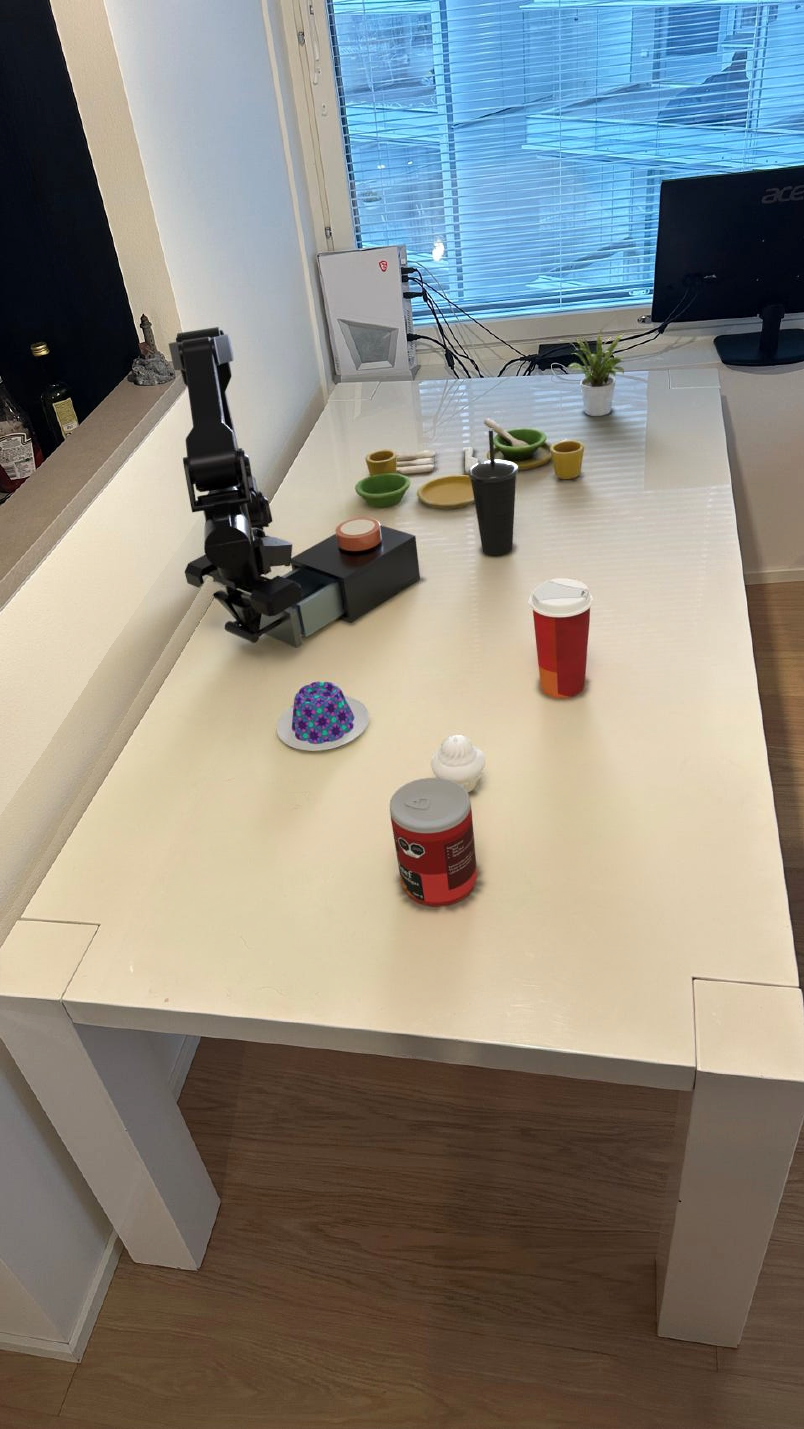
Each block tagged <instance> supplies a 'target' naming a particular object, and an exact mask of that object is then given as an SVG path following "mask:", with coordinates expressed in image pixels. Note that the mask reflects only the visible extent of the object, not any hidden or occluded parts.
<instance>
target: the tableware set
mask: <svg viewBox="0 0 804 1429" xmlns="http://www.w3.org/2000/svg"><path fill="white" fill-rule="evenodd" d="M483 424H484V426H486V427H487V428H488V429H493V433H496V435H495V436H493V439H494V457H495V459H499V460H504V461H509V462H512V463H514V464H516V465H517V467H518V471H523V470H530V469H534V468H537V467H540V466H542V465H544V464H546V463H548V462H549V461H550V460H551V461H552V466H553V471H554V475H555V477H556V478H558V479H563V480H570V479H575V478H577V477H579V476H580V474H581V472H582V467H583V466H582V464H583V457H584V451H585V445H584V443H583V442H581V441H578V440H571V439H569V438H564V439H562V441H559V442H557V443H553V444H552V443H550V442H548V441H547V434H546V433H545V432H543V431H542V430H539V429H536V428H528V427H527V428H525V427H524V428H523V427H521V428H513V429H508V430H505V429H504V428H503V427H502V426H501V425H499V423H497V422H495V421H494V420H493V419H492V418H489V417H488V418H487V417H486V418H485V419H484V421H483ZM473 455H474V447H472V446H468V447H465V448H464V463H465V464H464V473H465V474H454V475H453V474H452V475H444V476H442V477H437V478H433V479H431V480H429V481H427V482H424V483H423V484H422V485H421V486H419V487H418V489H417V491H416V495H417V496H416V497H417V498H418V499H419V500H420V501H421V502H422V503H424V504H425V505H426V506H429V507H432V508H436V509H458V508H463V507H467V506H471V505H473V504H475V501H474V495H473V489H472V483H471V478H470V477H469V475H468V471H469V469H470V468H471V467H472V466H474V465H476V464H478V463H479V459H478V458H476V457H473ZM435 456H436V452H435V451H433V450H420V451H417V452H414V453H410V454H398V453H397V451H395V450H393V449H379V450H374V451H371V452H369V453H368V454H367V455H366V456H365V458H364V460H365V462H366V466H367V469H368V472H369V476H367V477H365V478H363V479H361V480H359V481H358V482H357V483H356V484H355V487H354V490H355V492H356V494H357V495H358V496H360V497H361V499H363V500H364V502H366V504H367V505H368V506H369V507H372V508H374V509H376V508H377V509H386V508H390V507H391V508H392V507H394V506H396V505H398V504H399V503H400V502H402V500H403V498H404V496H405V494H406V492H407V490H408V489H410V486H411V480H410V478H409V477H408V476H406V475H409V474H419V473H420V474H421V473H430V472H433V471H434V469H435V464H434V462H435V458H434V457H435ZM486 459H487V460H490V449H488V450H487V453H486Z"/></svg>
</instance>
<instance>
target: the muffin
mask: <svg viewBox="0 0 804 1429" xmlns="http://www.w3.org/2000/svg"><path fill="white" fill-rule="evenodd" d="M430 761H431V762H430V766H431V770H432V772H433V774H434V776H435V778H444V779H448V780H451V781H454V782H456V783H458V784H459V785H461V786H462V787H463V788H464V789H465V790H466V791H467V793H468V794H469V793H471V792H472V791H473V789H474V788H475V787H476V785H477V784H478V781H479V780H480V778H481V776H482V775H483V770H484V769H485V766H486V759H485V756H484V753H483V752H482V750H480V749H479V748H478V747H477V746H475V745H474V744H473V743H472V741H471V740H470V738H468V737H466V736H464V735H460V734H456V735H455V734H452V735H451V736H448V737H447V738H445V739H443V742H442V743H441V744H440V748H439V749H438V750H437V751H436V752H435V753H434V755H433V756H432V758H431V760H430Z"/></svg>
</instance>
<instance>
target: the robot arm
mask: <svg viewBox="0 0 804 1429" xmlns="http://www.w3.org/2000/svg"><path fill="white" fill-rule="evenodd" d="M232 346H233V345H232V343H231V337H230V334H229V333H225V331H224V330H222V329H220V327H219V326H215V327H209V328H202V329H197V330H189V331H184V332H177V333H176V338H175V341H173V342H168V348H169V353H170V357H171V358H170V359H171V362H172V367H173V370H174V371H180V375H181V377H182V381H183V383H184V385H185V386H186V387H187V392H188V399H189V406H190V407H189V408H190V413H191V421H192V428H191V430H190V431H189V433H188V434H187V436H186V438H185V449H186V456H184V457H182V463H183V470H184V475H185V476H184V477H185V481H186V487H187V492H188V499H189V503H190V507H191V513H199V512H203V516H204V520H205V521H204V531H203V532H204V534H203V535H204V538H203V539H204V540H203V541H204V542H203V543H204V544H203V549H204V555H202V556H200V557H197V558H196V559H194V560H192V561H189V562H188V563H187V565H186V567H185V570H184V574H185V579H186V583H187V584H189V585H191V586H193V587H195V588H201V587H203V585H204V583H205V581H204V576H209V577H211V578H212V585H215V589H216V591H215V592H214V593H213V594H212V596H213V598H214V599H215V600H217V601H218V602H219V603H220V604H221V605H222V607H224V608H225V610H226V611H227V612H228V613H229V614H230V616H232V618H234V620H235V621H237V622H238V623H239V624H240V626H242V627H245V628H247V629H249V630H252V631H254V632H257V631H259V628H260V622H261V616H262V614H264V615H266V616H269V617H270V616H275V615H277V614H279V613H280V612H282V611H284V610H286V609H287V608H289V607H291V606H292V605H294V604H296V603H297V602H299V601H301V600H302V599H303V595H302V590H301V585H300V584H298V583H296V582H294V581H292V580H289V579H286V578H284V577H281V575H276V576H274V577H272V578H269V577H267V575H268V574H270V573H271V572H272V567H282V566H283V567H290V566H291V558H292V557H293V543H292V542H290V541H288V540H286V539H282V538H278V537H275V536H270V535H266V533H265V530H264V528H269V527H270V524H272V522H273V516H272V511H271V507H270V502H269V499H268V498H267V497H265V494H264V493H263V491H262V490H260V491H259V490H258V486H257V481H256V478H255V476H253V473H252V467H251V466H252V465H251V462H250V456H249V455H248V454H246V453H245V450H243V449H244V448H243V447H240V448H239V444H238V439H237V436H236V431H235V426H234V421H233V417H232V413H231V408H230V404H229V399H228V396H227V389H228V387H229V384H230V381H231V379H232V369H231V368H232V367H231V362H234V352H233V347H232ZM195 491H198V492H199V493H205V492H207V494H203V495H197V497H196V492H195ZM263 575H264V576H263Z"/></svg>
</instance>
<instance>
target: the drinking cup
mask: <svg viewBox="0 0 804 1429" xmlns="http://www.w3.org/2000/svg"><path fill="white" fill-rule="evenodd" d="M488 445H489V450H490V460H488V459H486V460H483V461H481V462H478V464H476V465H474V466H472V467H471V468H470V469H469V471H468V474H467V475H469V477H470V478H471V483H472V489H473V495H474V501H475V503H474V507H475V513H476V519H477V524H478V531H479V537H480V541H481V550H482V552H483V554H484V555H487V556H490V557H502V556H505V555H508V554H510V553H511V552H512V551H513V544H514V525H515V524H514V523H515V506H516V488H517V475H518V474H519V470H518V467H517V465H516V464H514V463H512V462H509V461H504V460H499V459H495V457H494V446H495V445H494V431H493V429H490V428H488Z"/></svg>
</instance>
